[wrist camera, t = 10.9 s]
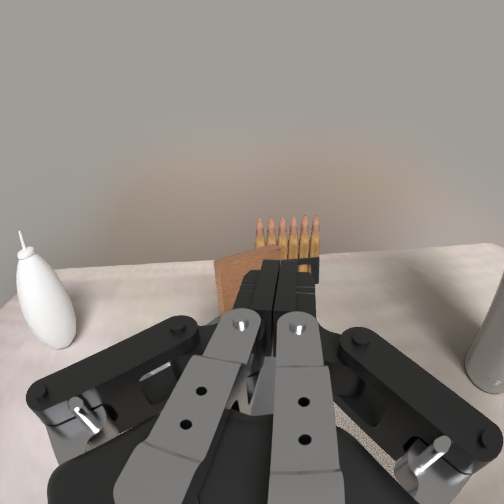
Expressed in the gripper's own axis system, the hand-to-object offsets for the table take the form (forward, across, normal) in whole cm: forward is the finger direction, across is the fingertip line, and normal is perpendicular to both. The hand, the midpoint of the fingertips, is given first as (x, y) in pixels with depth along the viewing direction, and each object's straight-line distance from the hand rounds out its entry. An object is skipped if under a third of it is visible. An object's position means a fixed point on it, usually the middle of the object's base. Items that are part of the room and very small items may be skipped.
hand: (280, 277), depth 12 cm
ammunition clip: (+29, +1, +20) cm, 35 cm away
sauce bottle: (+7, +31, +19) cm, 38 cm away
